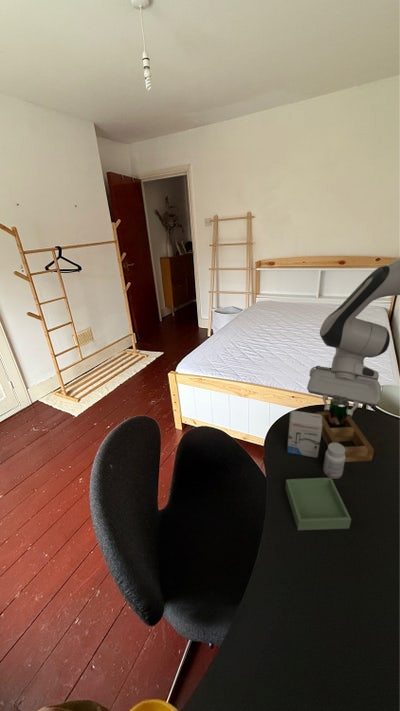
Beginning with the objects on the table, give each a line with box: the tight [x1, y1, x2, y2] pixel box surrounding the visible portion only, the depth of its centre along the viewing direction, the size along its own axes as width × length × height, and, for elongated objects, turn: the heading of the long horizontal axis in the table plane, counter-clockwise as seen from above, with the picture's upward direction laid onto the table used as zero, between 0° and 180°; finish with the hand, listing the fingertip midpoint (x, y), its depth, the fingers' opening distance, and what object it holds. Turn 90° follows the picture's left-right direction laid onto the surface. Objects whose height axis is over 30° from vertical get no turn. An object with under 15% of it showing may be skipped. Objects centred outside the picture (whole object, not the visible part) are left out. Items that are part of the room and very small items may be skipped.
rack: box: [315, 411, 375, 463], centre depth 89 cm, size 10×18×4 cm, turn 179°
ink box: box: [286, 410, 323, 459], centre depth 84 cm, size 9×5×12 cm, turn 71°
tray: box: [284, 477, 352, 531], centre depth 70 cm, size 11×11×3 cm
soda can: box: [327, 395, 350, 428], centre depth 91 cm, size 5×5×12 cm
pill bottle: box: [322, 442, 346, 479], centre depth 77 cm, size 5×5×8 cm
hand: (338, 413), depth 90 cm, fingers closed on soda can, 5 cm apart
